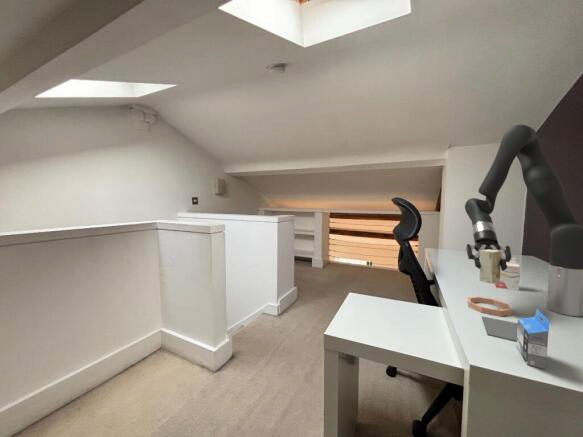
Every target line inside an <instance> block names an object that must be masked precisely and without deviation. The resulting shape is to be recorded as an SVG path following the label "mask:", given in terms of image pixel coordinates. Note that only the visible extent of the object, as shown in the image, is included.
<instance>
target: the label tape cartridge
mask: <svg viewBox="0 0 583 437" xmlns="http://www.w3.org/2000/svg"><path fill="white" fill-rule="evenodd" d="M541 318H542V319H541ZM550 322H551V321H550V320H549V319H548V318H547V317H546V316H545V315H544V314H543V312H542V311H540V310H539V309H538V308H536V312H535V315H534V316H531V317H525V318H519V319H517V323H518V330H517V342H516V349H517V351H518V352H519V354H520V356H521V357H522V359H523V360H524V363H525V364H526V365H527V366H529V367H534V368H538V369H542V370H547V362H548V361H547V359H548V344H549V341H548V340H549V331H550V330H549V329H550Z"/></svg>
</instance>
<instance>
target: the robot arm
mask: <svg viewBox="0 0 583 437" xmlns="http://www.w3.org/2000/svg"><path fill="white" fill-rule="evenodd" d="M516 158H517V160H518V161H519V163H520V167H521V173H522V178H523V182H524V185H525V187H526V189H527V190H528V193H529V195H530V197H531V198H532V200H533V202H534V203H535V204H536V206H537V207H538V209H539V210H540V212H541V213H542V215H543V216H544V219H545V222H546V224H547V227H548V230H549V232H550V253H549V254H550V255H549V262H548V263H549V265H548V281H547V282H548V284H547V296H546V297H547V300H546V308H547V310H549V311H552V312H554V313H557V314H561V315H565V316H570V317H583V226H582V225H581V224H580V223H579V222H578V220H577V218H576V217H575V215H574V213H573V212H572V210H571V207H570V204H569V202H568V198H567V197H568V196H567V193H566V190H565V188H564V185H563V184H562V181H561V179H560V177H559V176H558V173H557V172H556V171H555V169H554V167H553V166H552V164H551V162H550V161H549V159H547V157H546V156H545V154H544V152H543V149H542V146H541V143H540V141H539V137H538V134H537V131H536V130H535V129H534V128H533V127H531V126H529V125H525V124H516V125H514V126H511V127H510V128H508V129H506V131H505V132H504V134H503V136H502V138H501V141H500V145H499V147H498V150H497V152H496V155H495V156H494V160H493V162H492V164H491V166H490V168H489V170H488V172H487V173H486V175H485V177H484V179H483V180H482V182H481V185H480V186H479V188H478V190H477V191H478V193H479V194H480V195H482V196H484V197H485V200H484V199H479V198H473V197H471V198H469V199H468V200H467V201H466V202H465V204H464V210H465V213H466V214H467V216H468V217H469V219H470V221H471V223H472V224H471V225H472V236H473V241H474V245H473V244H472V245H471V244H470V243H467V244H466V248H465V250H466V254H467V259H469V260H473V261H474V266H475V268H477V269H478V270H480V267H481V265H480V251H481V250H488V249H490V250H498V251H501V256H500V258H501V261H500V265H501V269H502V271H505V270H506V268H507V264H506V262H510V261H511V258H513V257H512V252H511V246H509V245H505V246H501V245H500V244H499V240H498V236H497V232H496V228H495V226H494V223H493V218H492V217H491V215H492V213H493V212H494V209H495V204H496V201H497V197H498V194H499V192H500V190H501V189H502V188H503V186H504V183H505V182H506V180H507V177H508V175H509V172H510V168H511V167H512V165H513V162H514V161H515V160H516ZM473 250H475V251H476V254H475V255H474V254H473ZM502 252H503V253H502ZM503 254H504V255H503Z"/></svg>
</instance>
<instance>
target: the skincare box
mask: <svg viewBox="0 0 583 437" xmlns="http://www.w3.org/2000/svg"><path fill="white" fill-rule="evenodd" d="M501 253H502V250H500V251H498V250H490V249H488V250H481V251H480V258H479V259H480V265H481V267H480V269H479V281H480V282H483V283H487V284H491V285H493V284H494V283H497V282H500V261H501V258H500V256H501Z"/></svg>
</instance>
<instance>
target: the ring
mask: <svg viewBox="0 0 583 437" xmlns="http://www.w3.org/2000/svg"><path fill="white" fill-rule="evenodd" d="M466 303H467V307H468V308H470V309H472V310H474V311H476V312H479V313H482V314H487V315H490V316H491V315H492V316H496V317H504V316H511V315H512V310H513V309H512V308H511V306H510V305H509V304H508V303H506V302H502V301H500V300H498V299H494V298H490V297H483V296H472V297H471V296H470V297H467V302H466ZM476 303H481V304H482V303H483V304H488V305H493V306H495V307H499V308H501V309H496V308H491V307H490V308H489V307H485V306H481V305H479V304H476Z"/></svg>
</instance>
